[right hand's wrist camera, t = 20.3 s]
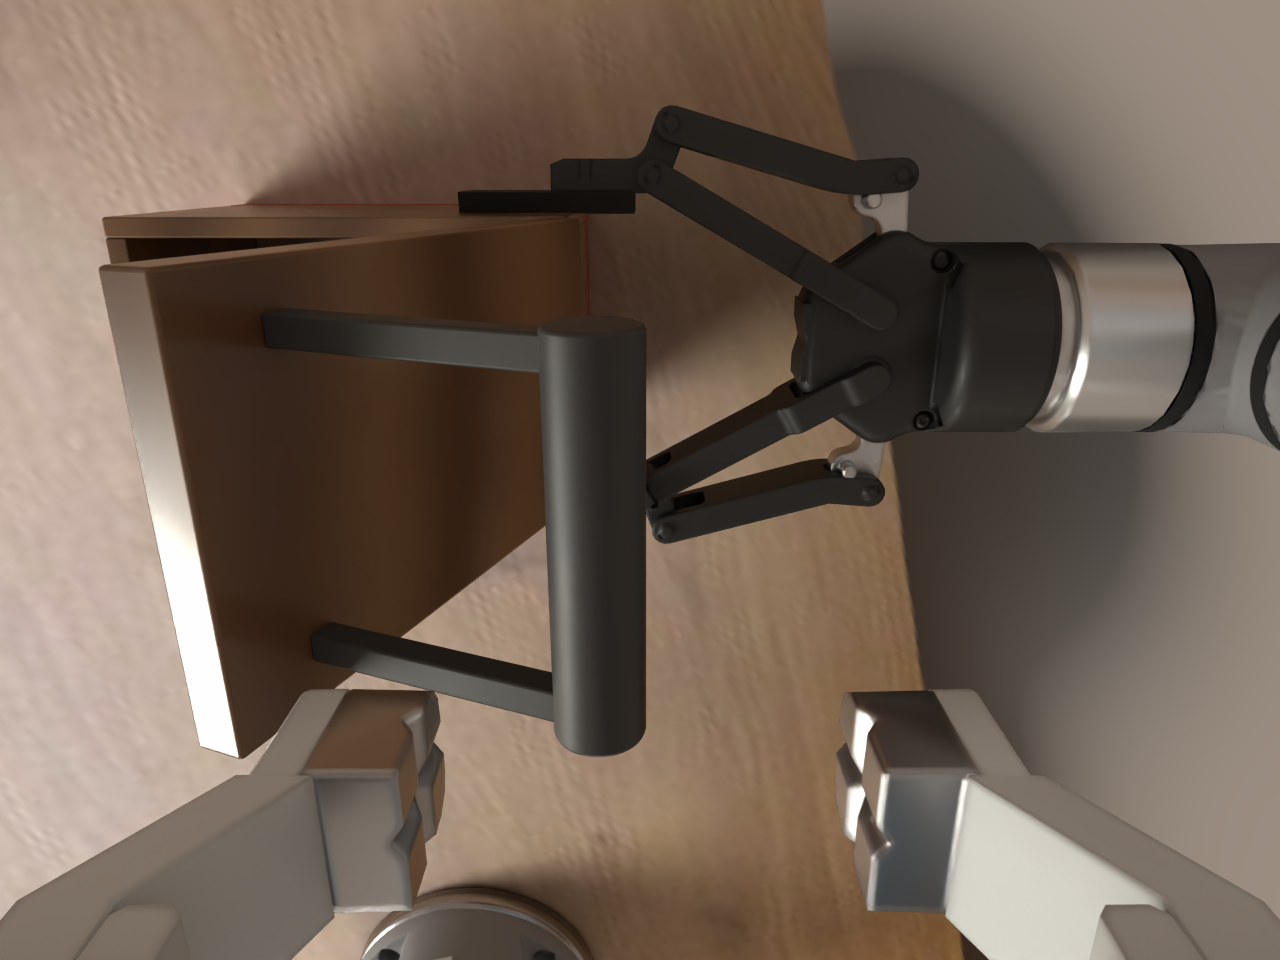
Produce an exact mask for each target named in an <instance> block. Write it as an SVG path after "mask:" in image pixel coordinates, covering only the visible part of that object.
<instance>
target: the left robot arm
mask: <svg viewBox="0 0 1280 960" xmlns="http://www.w3.org/2000/svg"><path fill="white" fill-rule="evenodd" d="M680 147H682V148H685V149H688V150H692V151H695V152H698V153H702V154H705V155H708V156H711V157H715V158H718V159H721V160H725V161H728V162H731V163H735V164H738V165H741V166H744V167H748V168H751V169H754V170H758V171H761V172H764V173H768V174H771V175H774V176H777V177H781V178H784V179H787V180H791V181H794V182H797V183H801V184H804V185H807V186H811V187H814V188H817V189H820V190H825V191H829V192H835V193H842V194H848V200H849V206H850V208H851V209H852V210H853V212H855V213H857V214H860V215H864V216H867V217H869V218H871V220H872V221H873V222H874V224H875V228H876V232H875V233H873V234H872V235H870V236H869V237H867V238H866V239H865V240H863V241H862V242H860V243H859V244H857V245H856V246H855V247H853V248H852V249H850V250H849V251H848V252H846V253H845V254H843V255H842V256H840V257H839V258H838V259H836V260H835V261H833V262H832V263H829V262H827V261H826V260H824V259H822V258H821V257H819V256H817V255H816V254H814V253H812V252H811V251H809V250H807V249H806V248H804V247H802V246H800V245H799V244H797V243H795V242H794V241H792V240H791V239H789V238H787V237H786V236H784V235H782V234H781V233H779V232H777V231H776V230H774V229H772V228H771V227H769V226H767V225H766V224H764V223H762V222H761V221H759V220H757V219H756V218H754V217H752V216H751V215H749V214H747V213H746V212H744V211H743V210H741V209H739V208H738V207H736V206H734V205H733V204H731V203H729V202H728V201H726V200H724V199H723V198H721V197H719V196H718V195H716V194H714V193H713V192H711V191H709V190H708V189H706V188H704V187H703V186H701V185H699V184H698V183H696V182H694V181H693V180H691V179H690V178H688V177H686V176H685V175H683V174H681V173H680V172H678V171H676V170H675V169H673V166H674V164H675V161H676V158H677V155H678V152H679V150H680ZM550 167H551V190H469V191H461V192H458V202H459V213H572V214H635V193H648V194H650V195H651V196H653V197H655V198H657V199H658V200H660V201H662V202H663V203H665V204H667V205H668V206H670V207H672V208H673V209H675V210H677V211H678V212H680V213H682V214H683V215H685V216H687V217H688V218H690V219H692V220H693V221H695V222H697V223H699V224H700V225H702V226H704V227H705V228H707V229H709V230H710V231H712V232H714V233H715V234H717V235H719V236H720V237H722V238H724V239H725V240H727V241H729V242H730V243H732V244H734V245H735V246H737V247H739V248H741V249H742V250H744V251H746V252H747V253H749V254H751V255H752V256H754V257H756V258H757V259H759V260H761V261H762V262H764V263H766V264H767V265H769V266H771V267H772V268H774V269H776V270H777V271H779V272H781V273H782V274H784V275H786V276H787V277H789V278H791V279H792V280H794V281H795V282H797V283H799V284H800V285H802V286H803V287H802V289H801V291H800V293H799V296H795V307H794V317H795V322H796V327H797V332H798V335H797V338H796V341H795V344H794V347H793V350H792V355H791V372H792V373H793V375H794V378H793V379H791V380H789V381H787V382H785V383H784V384H782V385H780V386H778V387H776V388H775V389H774V390H773V391H772V392H771V393H770V394H769V395H768V396H766V397H764V398H762V399H760V400H758V401H757V402H755V403H753V404H751V405H749V406H747V407H745V408H743V409H741V410H740V411H738V412H736V413H734V414H732V415H730V416H728V417H726V418H724V419H723V420H721V421H719V422H717V423H715V424H713V425H711V426H709V427H707V428H706V429H704V430H702V431H700V432H698V433H696V434H694V435H692V436H690V437H689V438H687V439H685V440H683V441H681V442H679V443H677V444H675V445H673V446H672V447H670V448H668V449H666V450H664V451H662V452H660V453H658V454H656V455H655V456H653V457H651V458H649V459H647V460H646V514H647V517H648V519H649V522H650V524H651V527H652V532H653V536H654V538H655V539H656V540H657V541H659V542H661V543H664V544H667V543H673V542H677V541H681V540H685V539H689V538H693V537H697V536H701V535H705V534H709V533H713V532H717V531H721V530H725V529H729V528H733V527H737V526H741V525H745V524H749V523H753V522H757V521H761V520H765V519H769V518H773V517H777V516H781V515H785V514H789V513H793V512H797V511H801V510H805V509H809V508H813V507H817V506H821V505H825V504H842V505H856V506H875V505H877V504H879V503H880V502H881V501H882V500H883V498H884V495H885V488H884V486H883V484H882V483H881V482H880V480H879V473H880V468H881V462H882V457H883V451H884V446H885V442H887V441H890V440H892V439H894V438H896V437H898V436H900V435H902V434H905V433H909V432H914V431H927V432H1014V431H1017V430H1019V429H1021V428H1022V427H1024V426H1027V427H1028V428H1030V429H1031V430H1032V431H1036V432H1042V433H1045V432H1120V431H1121V432H1122V431H1135V432H1207V433H1228V434H1236V435H1241V436H1245V437H1249V438H1251V439H1254V440H1256V441H1258V442H1260V443H1263V444H1265V445H1267V446H1269V447H1272V448H1274V449H1276V450H1278V451H1280V243H1260V244H1214V245H1173V244H1158V243H1049V244H1047V245H1045V246H1043V247H1042V248H1040V249H1039V250H1038V249H1037V248H1036V247H1035V246H1033V245H1032V244H1029V243H1022V242H925V241H923V240H921V239H919V238H917V237H916V236H914V235H913V234H911V233H909V232H907V226H908V193H909V190H910V189H911V188H913V187H914V185H915V184H916V182H917V181H918V176H919V170H918V166H917V165H916V163H915V162H914V161H912V160H911V159H909V158H885V159H872V160H859V161H854V160H851V159H847V158H844V157H841V156H838V155H834V154H831V153H828V152H825V151H821V150H818V149H815V148H812V147H808V146H805V145H802V144H799V143H795V142H792V141H789V140H786V139H782V138H779V137H776V136H773V135H769V134H766V133H763V132H759V131H756V130H753V129H750V128H746V127H743V126H740V125H737V124H733V123H730V122H727V121H724V120H720V119H717V118H714V117H711V116H707V115H704V114H701V113H698V112H694V111H691V110H688V109H685V108H681V107H678V106H671V105H669V106H666V107H664V108H662V109H661V110H660V111H659V112H658V114H657V116H656V118H655V121H654V124H653V127H652V130H651V133H650V136H649V139H648V142H647V144H646V146H645V149H644V150H643V151H642V152H641V153H640V154H639V155H638V156H636V157H633V158H629V159H562V160H560V161H557V162H555V163H553V164H550ZM832 417H833V418H835V419H836V420H837V421H839V422H840V423H841V424H843V425H844V426H845V427H847V428H848V429H849V430H851V431H852V432H853V433H855V434H856V438H855V440H854V441H853V442H852V443H851V444H850V445H848V446H845V447H840V448H836V449H834V450H833V451H832V452H831V453H830V454H829V456H828V459H813V460H808V461H803V462H798V463H794V464H791V465H787V466H783V467H779V468H775V469H771V470H767V471H763V472H759V473H756V474H752V475H748V476H744V477H740V478H736V479H732V480H728V481H724V482H720V483H717V484H713V485H709V486H705V487H701V488H697V489H693V490H689V491H685V492H682V493H679V492H680V491H682V490H684V489H686V488H688V487H690V486H692V485H694V484H696V483H698V482H700V481H702V480H704V479H706V478H707V477H709V476H711V475H713V474H715V473H717V472H719V471H721V470H723V469H725V468H727V467H729V466H731V465H733V464H735V463H736V462H738V461H740V460H742V459H744V458H746V457H748V456H750V455H752V454H754V453H756V452H758V451H760V450H762V449H763V448H765V447H767V446H769V445H771V444H773V443H775V442H777V441H779V440H781V439H783V438H785V437H787V436H789V435H792V434H800V433H803V432H805V431H807V430H809V429H811V428H813V427H815V426H817V425H819V424H821V423H823V422H825V421H827V420H829V419H830V418H832ZM677 493H678V494H677ZM361 960H593V959H592V956H591V954H590V952H589V950H588V948H587V946H586V944H585V943H584V941H583V940H582V938H581V937H580V935H579V934H578V933H577V932H576V931H575V929H574V928H573V927H572V926H571V925H570V924H569V923H567V922H566V921H565V920H564V919H563V918H561V917H560V916H559V915H557V914H556V913H554V912H553V911H552V910H550V909H548V908H546V907H545V906H543V905H541V904H539V903H537V902H535V901H533V900H530V899H528V898H525V897H522V896H520V895H516V894H513V893H509V892H505V891H500V890H494V889H486V888H456V889H447V890H442V891H437V892H433V893H429V894H426V895H423V896H420V897H418V898H416V900H415V903H414V907H413V910H412V911H392V912H391V913H390V914H388V915H387V916H386V917H385V918H384V919H383V920H382V921H381V922H380V923H379V924H378V926H377V927H376V928H375V929H374V931H373V932H372V934H371V935H370V937H369V939H368V941H367V943H366V946H365V949H364V951H363V954H362V957H361Z"/></svg>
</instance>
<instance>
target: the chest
mask: <svg viewBox="0 0 1280 960" xmlns="http://www.w3.org/2000/svg"><path fill="white" fill-rule="evenodd" d="M548 217H557V218H578V219H579V228H580V268H581V308H582V316H590V312H589V266H588V221H587V214H572V213H459V204H242V205H231V206H224V207H213V208H202V209H190V210H179V211H168V212H156V213H145V214H134V215H123V216H111V217H104V218H102V221H103V226H104V231H105V236H106V237H107V239H106V242H107V247H108V252H109V257H110V262H111V264H117V263H126V262H135V261H145V260H154V259H164V258H173V257H182V256H192V255H201V254H210V253H220V252H229V251H239V250H248V249H257V248H267V247H276V246H285V245H295V244H304V243H313V242H323V241H332V240H342V239H351V238H360V237H370V236H379V235H388V234H398V233H407V232H416V231H426V230H435V229H445V228H454V227H463V226H473V225H482V224H491V223H501V222H510V221H519V220H529V219H538V218H548Z"/></svg>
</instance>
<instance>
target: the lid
mask: <svg viewBox="0 0 1280 960" xmlns="http://www.w3.org/2000/svg"><path fill="white" fill-rule="evenodd" d="M99 274H100V279H101V284H102V288H103V293H104V298H105V303H106V307H107V312H108V317H109V321H110V326H111V331H112V336H113V340H114V345H115V350H116V354H117V359H118V364H119V369H120V373H121V378H122V383H123V387H124V392H125V397H126V401H127V406H128V411H129V416H130V420H131V425H132V430H133V434H134V439H135V444H136V449H137V453H138V458H139V463H140V467H141V472H142V477H143V482H144V486H145V491H146V496H147V500H148V505H149V510H150V514H151V519H152V524H153V529H154V533H155V538H156V543H157V547H158V552H159V557H160V562H161V566H162V571H163V576H164V580H165V585H166V590H167V595H168V599H169V604H170V609H171V613H172V618H173V623H174V627H175V632H176V637H177V642H178V646H179V651H180V656H181V660H182V665H183V670H184V675H185V679H186V684H187V689H188V693H189V698H190V703H191V707H192V712H193V717H194V722H195V726H196V731H197V736H198V740H199V744H200V746H201V747H203V748H206V749H209V750H212V751H215V752H219V753H222V754H225V755H228V756H231V757H234V758H238V759H243V758H245V757H247V756H248V755H249V754H250V753H252V752H253V751H254V750H256V749H257V748H258V747H260V746H261V745H262V744H263V743H265V742H266V741H267V740H269V739H270V738H271V737H272V736H274V735H275V734H276V733H277V731H278V730H279V728H280V727H281V725H282V724H283V722H284V721H285V719H286V718H287V716H288V714H289V713H290V711H291V710H292V708H293V707H294V705H295V704H296V702H297V701H298V699H299V698H300V696H301V695H302V694H303V693H304V692H306V691H308V690H311V689H335V688H336V687H337V686H339V685H340V684H341V683H342V682H344V681H345V680H346V679H348V678H349V677H350V676H351V675H353V674H354V673H355V672H358V673H362V674H366V675H370V676H374V677H378V678H382V679H386V680H390V681H394V682H398V683H402V684H406V685H410V686H414V687H418V688H422V689H426V690H430V691H434V692H437V693H441V694H445V695H449V696H453V697H457V698H461V699H465V700H469V701H473V702H477V703H481V704H485V705H489V706H493V707H497V708H501V709H505V710H509V711H513V712H517V713H520V714H524V715H528V716H532V717H536V718H540V719H544V720H548V721H552V722H554V730H555V734H556V737H557V739H558V740H559V742H560V743H561V744H562V745H563V746H564V747H565V748H566V749H568V750H570V751H572V752H574V753H576V754H580V755H583V756H589V757H607V756H613V755H617V754H620V753H623V752H625V751H628V750H629V749H631V748H633V747H634V746H635V745H636V744H637V743H639V741H640V740H641V739H642V737H643V735H644V733H645V730H646V328H645V325H644V324H643V323H642V322H639V321H637V320H633V319H629V318H622V317H612V316H582V308H581V268H580V228H579V219H578V218H557V217H548V218H538V219H529V220H519V221H510V222H501V223H491V224H482V225H473V226H463V227H454V228H445V229H435V230H426V231H416V232H407V233H398V234H388V235H379V236H370V237H360V238H351V239H342V240H332V241H323V242H313V243H304V244H295V245H285V246H276V247H267V248H257V249H248V250H239V251H229V252H220V253H210V254H201V255H192V256H182V257H173V258H164V259H154V260H145V261H135V262H126V263H117V264H107V265H103V266H101V267H99ZM544 526H546V544H547V567H548V591H549V614H550V637H551V661H552V672H548V671H543V670H539V669H535V668H530V667H526V666H521V665H517V664H513V663H508V662H504V661H500V660H495V659H491V658H487V657H482V656H478V655H474V654H469V653H465V652H461V651H456V650H452V649H448V648H443V647H439V646H435V645H430V644H426V643H422V642H417V641H413V640H409V639H404V638H401V637H402V636H403V635H405V634H406V633H407V632H408V631H410V630H411V629H412V628H414V627H415V626H416V625H418V624H419V623H420V622H421V621H423V620H424V619H425V618H427V617H428V616H429V615H430V614H432V613H433V612H434V611H436V610H437V609H438V608H440V607H441V606H442V605H443V604H445V603H446V602H447V601H449V600H450V599H451V598H452V597H454V596H455V595H456V594H458V593H459V592H460V591H462V590H463V589H464V588H465V587H467V586H468V585H469V584H471V583H472V582H473V581H475V580H476V579H477V578H478V577H480V576H481V575H482V574H484V573H485V572H486V571H487V570H489V569H490V568H491V567H493V566H494V565H495V564H497V563H498V562H499V561H500V560H502V559H503V558H504V557H506V556H507V555H508V554H509V553H511V552H512V551H513V550H515V549H516V548H517V547H519V546H520V545H521V544H522V543H524V542H525V541H526V540H528V539H529V538H530V537H531V536H533V535H534V534H535V533H537V532H538V531H539V530H541V529H542V528H543V527H544Z"/></svg>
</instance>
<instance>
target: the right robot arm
mask: <svg viewBox="0 0 1280 960" xmlns="http://www.w3.org/2000/svg"><path fill="white" fill-rule="evenodd" d="M440 722H441V721H440V713H439V705H438V698H437V696H436V695H435V693H434V691H411V690H363V689H353V690H349V689H311V690H308V691H306V692H304V693H303V694H302V695H301V696H300V698H299V699H298V701H297V702H296V704H295V705H294V707H293V708H292V710H291V711H290V713H289V714H288V716H287V718H286V719H285V721H284V722H283V724H282V725H281V727H280V728H279V730H278V731H277V733H276V734H275V736H274V738H273V739H272V741H271V742H270V744H269V745H268V747H267V748H266V750H265V751H264V753H263V754H262V756H261V758H260V759H259V761H258V762H257V764H256V765H255V767H254V768H253V770H252V771H251V773H250V774H249V775H236V776H234V777H232V778H230V779H229V780H227V781H225V782H223V783H222V784H220V785H218V786H216V787H215V788H213V789H211V790H209V791H208V792H206V793H204V794H202V795H201V796H199V797H197V798H195V799H194V800H192V801H190V802H188V803H187V804H185V805H183V806H181V807H180V808H178V809H176V810H174V811H173V812H171V813H169V814H167V815H166V816H164V817H162V818H161V819H159V820H157V821H155V822H154V823H152V824H150V825H148V826H147V827H145V828H143V829H141V830H140V831H138V832H136V833H134V834H133V835H131V836H129V837H127V838H126V839H124V840H122V841H120V842H119V843H117V844H115V845H113V846H112V847H110V848H108V849H106V850H105V851H103V852H101V853H99V854H98V855H96V856H94V857H92V858H91V859H89V860H87V861H85V862H84V863H82V864H80V865H78V866H77V867H75V868H73V869H71V870H70V871H68V872H66V873H65V874H63V875H61V876H59V877H58V878H56V879H54V880H52V881H51V882H49V883H47V884H45V885H44V886H42V887H40V888H38V889H37V890H35V891H33V892H31V893H30V894H28V895H26V896H24V897H23V898H21V899H19V900H17V901H16V903H15V904H14V905H13V906H12V907H11V908H10V910H9V911H8V912H7V913H6V914H5V916H4V917H3V918H2V919H1V920H0V960H291V959H292V958H293V957H294V956H295V955H296V954H297V953H298V952H299V951H300V950H301V949H302V948H304V947H305V946H306V945H307V944H308V943H309V942H310V941H311V940H312V939H313V938H314V937H315V936H316V935H317V934H318V933H319V932H320V931H321V930H322V929H323V928H324V927H325V926H326V925H327V924H328V923H329V922H330V921H331V920H332V919H333V918H334V913H349V912H383V911H412V910H413V907H414V903H415V900H416V897H417V894H418V891H419V887H420V884H421V881H422V878H423V875H424V872H425V868H426V865H427V860H426V849H425V843H426V842H427V841H428V840H430V839H431V838H432V837H433V836H435V835H436V832H437V829H438V825H439V822H440V818H441V814H442V807H443V800H444V793H445V765H444V753H443V752H442V751H441V750H440V749H439V748H438V746H437V745H436V744H435V743H434V739H435V736H436V734H437V731H438V728H439V725H440ZM839 722H840V725H841V728H842V731H843V734H844V736H845V739H846V743H845V744H844V745H843V746H842V748H841V749H840V750H839V751H838V752H837V753H836V768H835V789H836V803H837V808H838V814H839V819H840V822H841V826H842V829H843V832H844V835H845V836H847V837H848V838H849V839H850V840H852V841H853V842H854V843H855V849H854V860H853V865H854V868H855V872H856V875H857V878H858V881H859V884H860V887H861V890H862V894H863V897H864V900H865V903H866V906H867V909H868V911H895V912H931V913H946V916H945V917H946V918H947V919H948V920H949V921H950V922H951V923H952V924H953V925H954V926H955V927H957V928H958V929H959V930H960V931H961V932H962V933H963V934H964V935H965V936H966V937H967V938H968V939H969V940H970V941H971V942H972V943H973V944H974V945H975V946H976V947H977V948H978V949H979V950H980V951H981V952H982V953H983V954H984V955H985V956H986V957H987V958H988V959H989V960H1280V920H1279V919H1278V917H1277V916H1276V915H1275V914H1274V913H1273V911H1272V910H1271V909H1270V908H1269V907H1268V906H1267V904H1266V903H1265V902H1264V901H1262V900H1260V899H1258V898H1257V897H1255V896H1253V895H1251V894H1250V893H1248V892H1246V891H1244V890H1243V889H1241V888H1239V887H1237V886H1236V885H1234V884H1232V883H1231V882H1229V881H1227V880H1225V879H1224V878H1222V877H1220V876H1218V875H1217V874H1215V873H1213V872H1211V871H1210V870H1208V869H1206V868H1204V867H1203V866H1201V865H1199V864H1198V863H1196V862H1194V861H1192V860H1191V859H1189V858H1187V857H1185V856H1184V855H1182V854H1180V853H1178V852H1177V851H1175V850H1173V849H1171V848H1170V847H1168V846H1166V845H1164V844H1163V843H1161V842H1159V841H1157V840H1156V839H1154V838H1152V837H1151V836H1149V835H1147V834H1145V833H1144V832H1142V831H1140V830H1138V829H1137V828H1135V827H1133V826H1131V825H1130V824H1128V823H1126V822H1124V821H1123V820H1121V819H1119V818H1118V817H1116V816H1114V815H1112V814H1111V813H1109V812H1107V811H1105V810H1104V809H1102V808H1100V807H1098V806H1097V805H1095V804H1093V803H1091V802H1090V801H1088V800H1086V799H1084V798H1083V797H1081V796H1079V795H1077V794H1076V793H1074V792H1072V791H1071V790H1069V789H1067V788H1065V787H1064V786H1062V785H1060V784H1058V783H1057V782H1055V781H1053V780H1051V779H1050V778H1048V777H1046V776H1044V775H1031V774H1030V773H1029V771H1028V770H1027V768H1026V767H1025V765H1024V764H1023V762H1022V761H1021V759H1020V758H1019V756H1018V755H1017V753H1016V752H1015V750H1014V749H1013V747H1012V746H1011V744H1010V743H1009V741H1008V740H1007V738H1006V737H1005V735H1004V733H1003V732H1002V730H1001V729H1000V727H999V726H998V724H997V723H996V721H995V720H994V718H993V717H992V715H991V714H990V712H989V711H988V709H987V708H986V706H985V705H984V703H983V702H982V700H981V699H980V697H979V696H978V694H977V693H976V692H975V691H973V690H971V689H940V690H928V691H880V692H845V693H844V696H843V700H842V703H841V712H840V721H839Z"/></svg>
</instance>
